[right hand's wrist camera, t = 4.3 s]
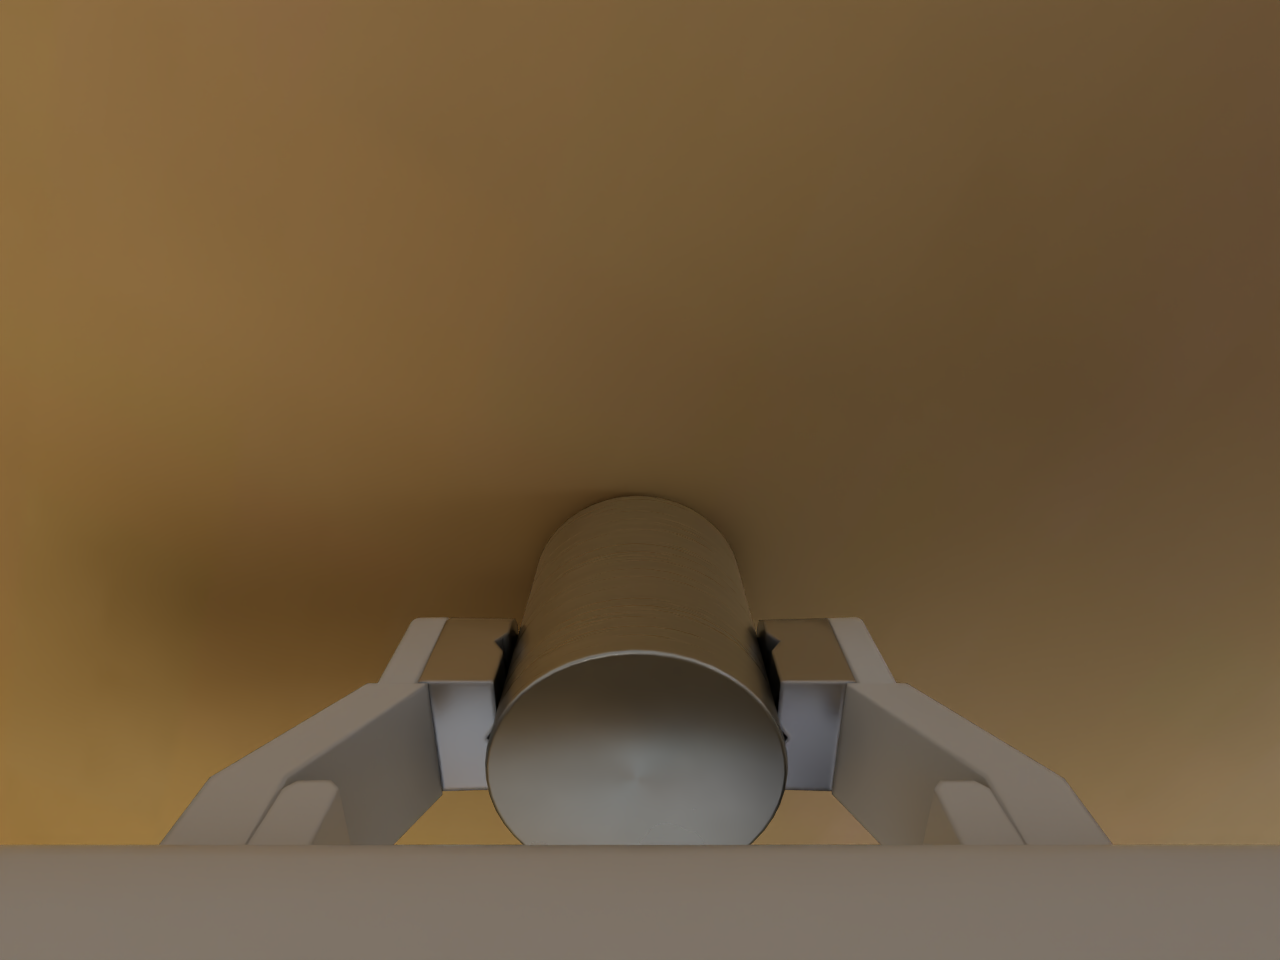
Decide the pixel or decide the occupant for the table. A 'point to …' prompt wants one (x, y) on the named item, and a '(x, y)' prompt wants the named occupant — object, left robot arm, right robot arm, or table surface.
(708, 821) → the tin
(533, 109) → the table surface
